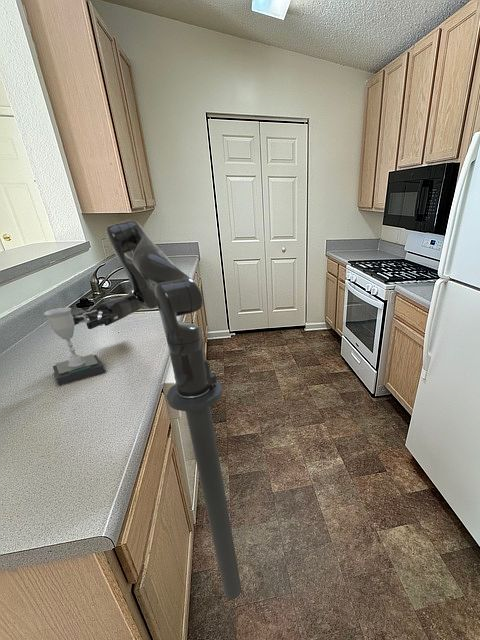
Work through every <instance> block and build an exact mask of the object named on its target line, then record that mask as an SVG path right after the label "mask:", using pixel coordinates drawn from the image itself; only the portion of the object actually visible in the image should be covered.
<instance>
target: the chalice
mask: <svg viewBox="0 0 480 640" xmlns="http://www.w3.org/2000/svg"><path fill="white" fill-rule="evenodd" d="M43 315H44V316H45V317H46V318H47V321H48V323H49V326H50V328H51V330H52V331H53V332H54V333H55V334H56V335H57V336H58V337H59V338H60V339H62V340H66V343H67V344H66V346H67V347H68V348H69V349H68V352H70V353H71V356H69V358H68V360H69V361H68V360H67V361H68V366H70V367H74V366H79V365H82V364H84V363H85V362H86V361H85V360H84V359H83V358H82V357H83V356H82V355H79V354H76V352H75V350H76V348H74V346H73V345H74V343H72V341H71V339H72V338H73V337H74V332H75V326H76V325H75V324H74V321H73V316H72V308H71V307H59V308H53V309H49V310H46V311H44V313H43Z"/></svg>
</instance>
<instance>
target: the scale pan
mask: <svg viewBox="0 0 480 640" xmlns="http://www.w3.org/2000/svg"><path fill="white" fill-rule="evenodd" d="M93 355H94V354H93V353H91V354H87V355H84V356H81V357H82V358H83V359H84V360H85V361H86V362H85V363H84V364H82V365H79V366H74V367H70V366H68V361H69V359H68V360H64V361H60V362H57V363H55V365H56V367H57V369H58V372H59V375H62V374H66V373H69V371H73V370H77V369H80V368H84V367H88V366H90V367H91V366H95V365H98V362H97V360H96V359H95V357H94V356H93Z"/></svg>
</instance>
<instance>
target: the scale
mask: <svg viewBox="0 0 480 640" xmlns="http://www.w3.org/2000/svg"><path fill="white" fill-rule="evenodd" d="M93 356H94V357H95V359H96V360H97V362H98V365H95V366H91V367H90V366H88V367H84V368H80V369H77V370H73V371H69V373H66V374H62V375H59V372H58V369H57V367H56V364H55V365H52V369H53V371H54V375H55V378H56V381H57V383H58V386H59V387H60V386H64V385H66V384H71V383H73V382H77V381H80V380H84V379H87V378H91V377H94V376H95V377H96V376H98V375H101V374H105V373H106V369H105V367H104V365H103V363H102V361H101V360H100V358H99V357H98V355H97V354H93Z"/></svg>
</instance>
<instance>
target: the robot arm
mask: <svg viewBox="0 0 480 640" xmlns="http://www.w3.org/2000/svg"><path fill="white" fill-rule="evenodd" d="M105 234H106V237H107V241H108V243H109V245H110V246H111V249H112V250H113V252H114V253H115V256H116V258H117V260H118V261H119V264H120V265H121V266H122V268H123V270H124V272H125V273H126V276H127V278H128V281H129V284H130V286H131V288H132V289H131V290H130V291H129V292H128V293H127V294H125V295H122V296H120V297H116V298H112V299H110V300H107V301H104V302H101V303H99V304H98V306H97V308H96V309H94V310H91V311H89V310H87V309H86V310H83V311H81V312H78V313H75V314H73V315H72V314H71V315H72V318H73V321H74V324H75V325H74V326H76V325H79V324H83V323H85V324H86V327H87V329H88V330H92V329H94V328H97V327H102V326H105V327H107V326H110V325H112V324H114V323H116V322H118V321H120V320H122V319H124V318H126V317H128V316H129V315H131V314H133V313H136V312H138V311H139V310H140V309H141V307H143V308H146V309H150V310H152V309H155V308H157V310H158V312H159V316H160V319H161V324H162V328H163V332H164V334H165V339H166V343H167V349H168V353H169V357H170V363H171V366H172V371H173V375H174V380H175V384H176V385H177V390H178V395H179V396H180V397H182V398H185V399H194V398H199V397H202V396H204V395H205V394H207V393H208V392H209V391H210V390H212V389H213V387H212V384H215V383H216V381H218V378H217V376H216V375H215V374H214V373H213V372H211V369H210V363H209V360H207V359H206V355H205V350H204V348H205V347H204V343H203V337H202V330H201V328H200V326H199V325H198V324H196V323H192V322H184V321H179V320H178V317H180V316H185V315H188V314H193V313H195V312H198V311H200V310H201V308H202V307H203V303H204V297H203V293H202V292H201V289H200V287H199V285H198V284H197V282H196V281H194V279H193V278H191V277H190V276H189V274H186V273H185V272H184V271H182V270H181V269H180V268H179V267H178V266H176V265H175V264H174V263H173V262H172V261H171V259H169V257H168V256H167V255H166V254H165V252H163V250H162V249H160V248H159V247H158V246H157V245H156V243H154V241H153V240H152V239H151V238H150V237H149V235H148V234H147V232H146V231H145V229H144V228H143V227H142V225H141V224H140V223H139V222H138V221H137V220H134V219H127V220H123V221H119V222H115V223H112V224H110V225H107V226H106V227H105ZM130 252H132V256H131V257H130V256H128V254H127V253H130ZM153 284H155V286H153Z"/></svg>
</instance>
